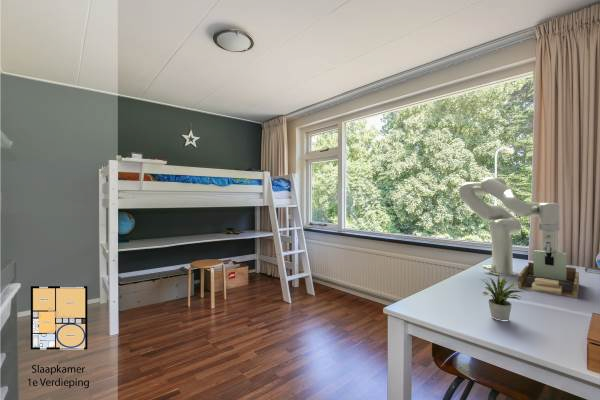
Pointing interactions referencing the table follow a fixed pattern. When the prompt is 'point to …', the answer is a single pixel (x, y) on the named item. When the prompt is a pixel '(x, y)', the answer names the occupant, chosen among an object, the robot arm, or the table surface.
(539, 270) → the green panel
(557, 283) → the offcut upper
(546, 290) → the offcut lower
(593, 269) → the table surface
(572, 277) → the rack
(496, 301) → the house plant
